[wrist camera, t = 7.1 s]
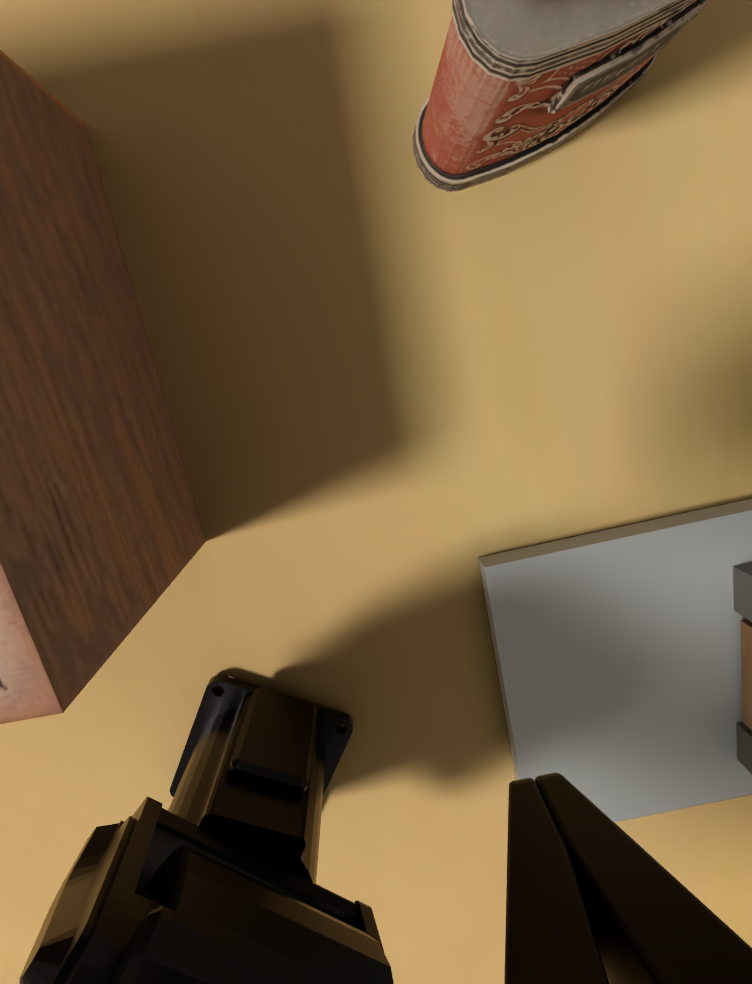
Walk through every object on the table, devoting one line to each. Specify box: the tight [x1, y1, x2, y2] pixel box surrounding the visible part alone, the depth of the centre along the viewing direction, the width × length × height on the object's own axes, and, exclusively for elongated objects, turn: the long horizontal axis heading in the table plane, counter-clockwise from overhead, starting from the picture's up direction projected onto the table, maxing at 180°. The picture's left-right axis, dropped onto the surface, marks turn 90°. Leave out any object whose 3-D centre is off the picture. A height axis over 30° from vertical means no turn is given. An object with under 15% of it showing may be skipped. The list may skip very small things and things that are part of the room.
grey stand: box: [478, 499, 752, 822], centre depth 19 cm, size 14×14×6 cm
